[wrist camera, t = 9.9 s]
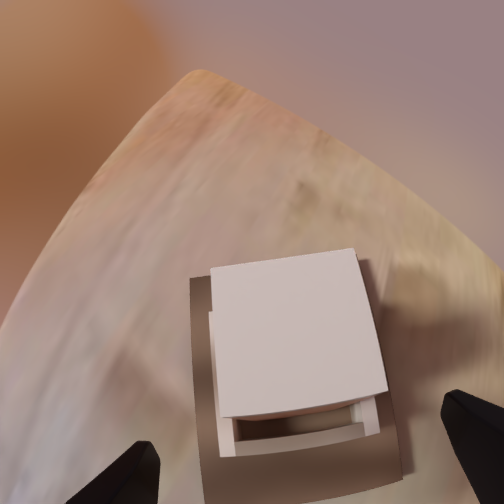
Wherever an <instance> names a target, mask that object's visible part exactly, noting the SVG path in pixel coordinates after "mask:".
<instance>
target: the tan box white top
mask: <svg viewBox="0 0 504 504" xmlns="http://www.w3.org/2000/svg"><path fill="white" fill-rule="evenodd" d="M210 269H211V291H212V310H213V327H214V343H215V358H216V372H217V385H218V397H219V409H220V417H221V418H230V419H239V420H249V421H264V420H272V419H280V418H288V417H295V416H302V415H308V414H314V413H320V412H325V411H331V410H335V409H338V408H341V407H344V406H347V405H350V404H353V403H356V402H359V401H362V400H365V399H367V398H370V397H373V396H376V395H378V394H381V393H383V392H386V391H388V386H387V381H386V376H385V371H384V366H383V361H382V356H381V352H380V347H379V343H378V338H377V334H376V330H375V325H374V321H373V317H372V313H371V309H370V305H369V301H368V297H367V294H366V290H365V286H364V282H363V279H362V275H361V272H360V268H359V265H358V261H357V258H356V254H355V251H354V248H349V249H342V250H335V251H328V252H321V253H314V254H307V255H300V256H293V257H286V258H279V259H272V260H265V261H258V262H251V263H244V264H237V265H229V266H222V267H215V268H210Z"/></svg>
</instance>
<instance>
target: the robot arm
mask: <svg viewBox="0 0 504 504" xmlns="http://www.w3.org/2000/svg"><path fill="white" fill-rule="evenodd" d="M441 419H442V421H443V424H444V426H445V429H446V431H447V434H448V436H449V439H450V441H451V444H452V447H453V449H454V452H455V454H456V456H457V458H458V460H459V462H460V464H461V466H462V468H463V470H464V472H465V474H466V476H467V478H468V480H469V482H470V484H471V486H472V488H473V490H474V492H475V494H476V496H477V498H478V500H479V502H480V504H504V408H502V407H500V406H497V405H495V404H492V403H490V402H487V401H485V400H483V399H480V398H478V397H475V396H473V395H470V394H468V393H466V392H463V391H461V390H458V389H455V390H452V391H450V392H447V393H446V394H445V396H444V400H443V404H442V408H441ZM159 476H160V458H159V456H158V454H157V452H156V450H155V448H154V446H153V444H152V443H151V442H150V441H137V442H135V443H134V444H133V445H132V446H131V447H130V448H129V449H128V450H126V451H125V452H124V453H123V454H122V455H121V456H120V457H119V458H117V459H116V460H115V461H114V462H113V463H112V464H111V465H109V466H108V467H107V468H106V469H105V470H104V471H103V472H101V473H100V474H99V475H98V476H97V477H96V478H94V479H93V480H92V481H91V482H90V483H88V484H87V485H86V486H85V487H84V488H82V489H81V490H80V491H79V492H78V493H76V494H75V495H74V496H73V497H72V498H70V499H69V500H68V501H67V502H66V504H157V503H158V490H159Z"/></svg>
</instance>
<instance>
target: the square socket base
mask: <svg viewBox="0 0 504 504" xmlns="http://www.w3.org/2000/svg"><path fill="white" fill-rule="evenodd" d="M356 258H357V255H356ZM357 261H358V258H357ZM358 265H359V261H358ZM359 268H360V265H359ZM360 272H361V268H360ZM361 275H362V272H361ZM362 279H363V275H362ZM363 282H364V279H363ZM364 286H365V282H364ZM365 290H366V286H365ZM366 294H367V297H368V293H367V290H366ZM368 301H369V297H368ZM369 305H370V301H369ZM370 309H371V305H370ZM371 313H372V309H371ZM190 317H191V344H192V365H193V382H194V397H195V411H196V424H197V435H198V446H199V456H200V466H201V475H202V484H203V492H204V500H205V504H301V503H308V502H314V501H320V500H325V499H331V498H336V497H340V496H345V495H350V494H354V493H358V492H362V491H366V490H370V489H374V488H377V487H381V486H384V485H388V484H391V483H394V482H397V481H400V480H403V477H402V468H401V459H400V451H399V444H398V437H397V430H396V424H395V418H394V412H393V406H392V400H391V395H390V389H389V384H388V379H387V374H386V369H385V364H384V360H383V355H382V350H381V346H380V342H379V337H378V333H377V329H376V325H375V321H374V317H373V313H372V317H373V321H374V325H375V330H376V334H377V338H378V343H379V347H380V352H381V356H382V361H383V366H384V371H385V376H386V381H387V386H388V391H386V392H383V393H381V394H378V395H376V396H373V397H370V398H367V399H365V400H362V401H359V402H356V403H353V404H350V405H347V406H344V407H341V408H338V409H335V410H331V411H325V412H320V413H314V414H308V415H302V416H295V417H288V418H280V419H272V420H264V421H249V420H239V419H230V418H221V417H220V409H219V397H218V385H217V372H216V358H215V343H214V327H213V310H212V291H211V276H203V277H196V278H190Z"/></svg>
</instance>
